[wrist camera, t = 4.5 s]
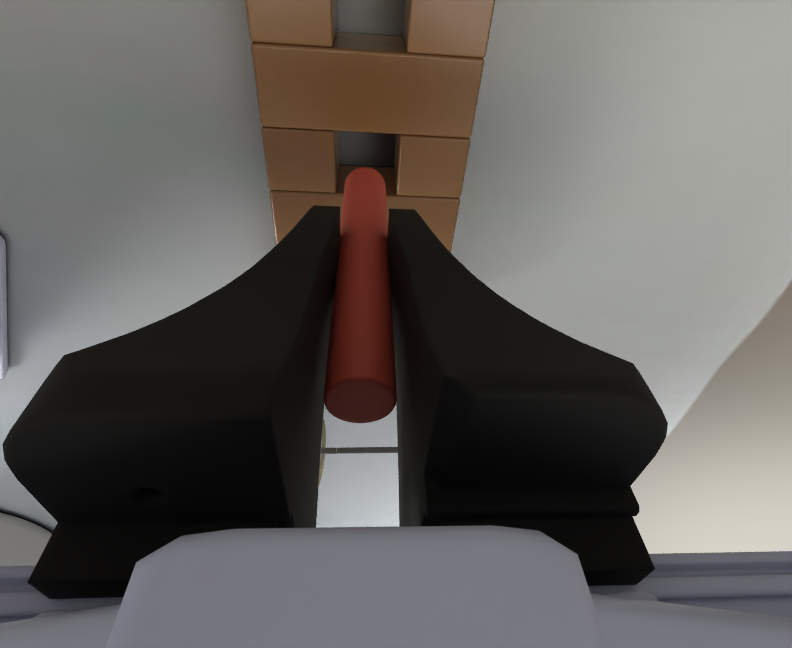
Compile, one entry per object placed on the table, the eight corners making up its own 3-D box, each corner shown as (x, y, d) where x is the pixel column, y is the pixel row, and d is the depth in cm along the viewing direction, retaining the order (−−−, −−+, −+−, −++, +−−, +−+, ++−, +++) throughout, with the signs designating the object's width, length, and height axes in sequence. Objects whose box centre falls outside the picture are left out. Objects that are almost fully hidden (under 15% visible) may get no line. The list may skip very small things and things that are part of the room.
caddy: (431, 300, 21) (436, 335, 20) (294, 297, 21) (287, 332, 19) (500, -151, 11) (524, -164, 10) (244, -177, 11) (218, -196, 9)
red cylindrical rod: (374, 211, 14) (376, 431, 8) (338, 194, 13) (312, 413, 7) (392, 177, 13) (411, 391, 7) (355, 159, 13) (341, 369, 7)
